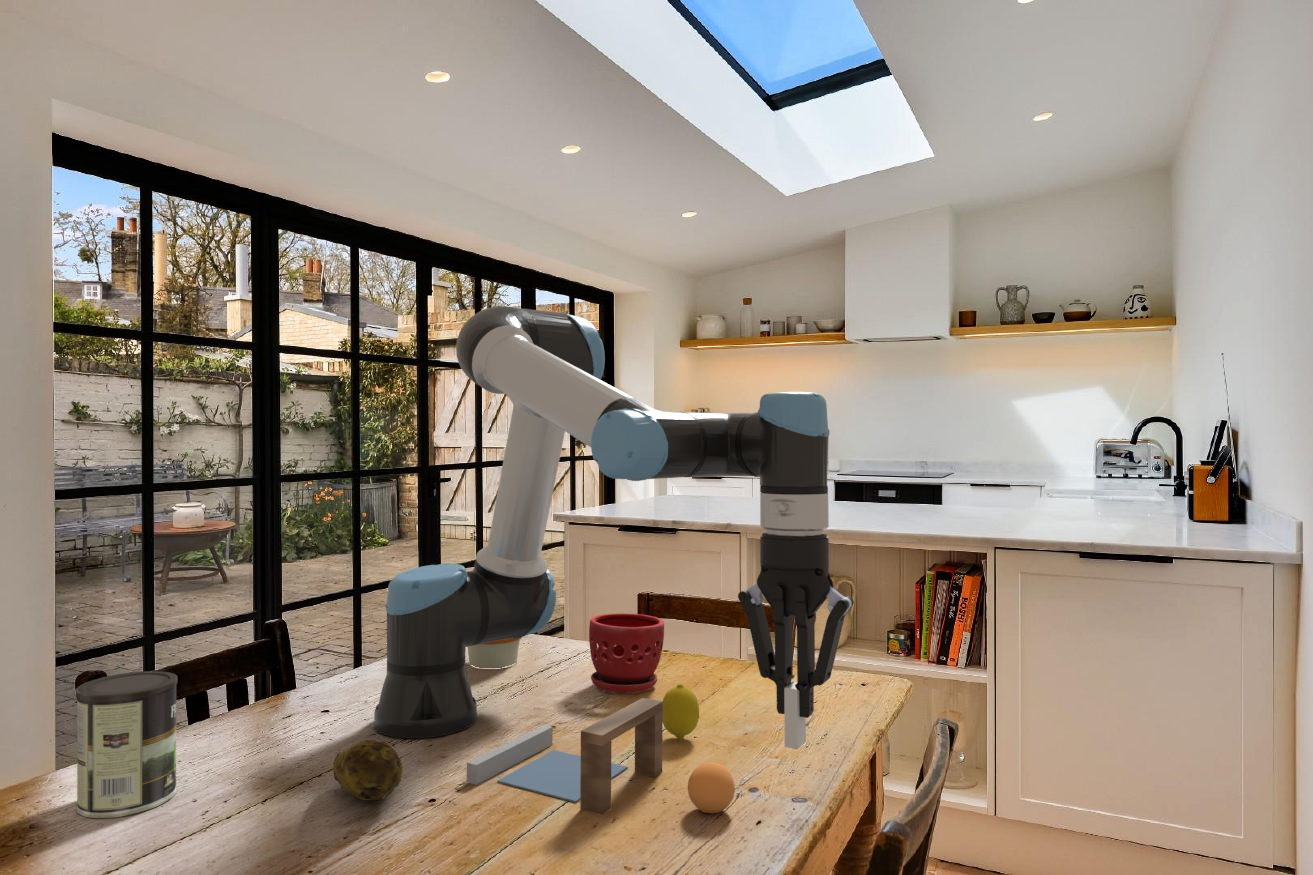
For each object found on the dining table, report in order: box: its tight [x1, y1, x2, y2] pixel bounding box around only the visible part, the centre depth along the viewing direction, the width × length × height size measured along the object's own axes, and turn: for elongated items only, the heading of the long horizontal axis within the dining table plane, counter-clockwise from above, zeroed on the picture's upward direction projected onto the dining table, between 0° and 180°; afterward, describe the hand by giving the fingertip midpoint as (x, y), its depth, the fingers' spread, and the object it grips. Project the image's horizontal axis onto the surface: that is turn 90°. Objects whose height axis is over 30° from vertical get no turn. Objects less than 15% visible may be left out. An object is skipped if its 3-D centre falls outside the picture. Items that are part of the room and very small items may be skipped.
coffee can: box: [75, 670, 179, 819], centre depth 100 cm, size 10×10×14 cm
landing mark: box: [497, 749, 629, 804], centre depth 108 cm, size 12×12×1 cm
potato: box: [332, 739, 404, 801], centre depth 100 cm, size 8×13×8 cm, turn 16°
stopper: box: [466, 724, 554, 786], centre depth 112 cm, size 2×16×2 cm, turn 151°
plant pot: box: [588, 612, 665, 695], centre depth 147 cm, size 13×13×12 cm
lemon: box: [662, 683, 700, 740], centre depth 121 cm, size 6×6×8 cm
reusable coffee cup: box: [467, 638, 522, 668], centre depth 161 cm, size 13×13×15 cm
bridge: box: [579, 697, 663, 816], centre depth 104 cm, size 3×14×9 cm, turn 151°
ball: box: [687, 761, 736, 814], centre depth 98 cm, size 6×6×6 cm
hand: (795, 744), depth 93 cm, fingers closed
